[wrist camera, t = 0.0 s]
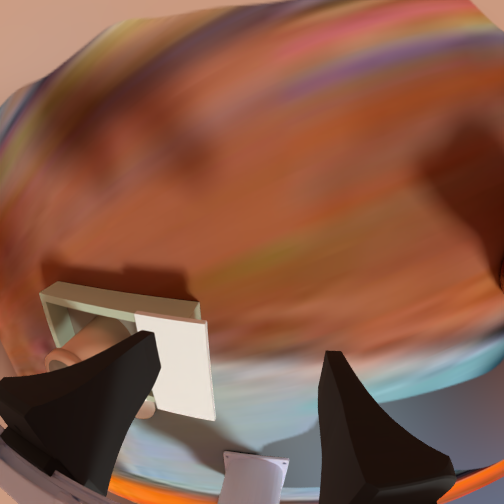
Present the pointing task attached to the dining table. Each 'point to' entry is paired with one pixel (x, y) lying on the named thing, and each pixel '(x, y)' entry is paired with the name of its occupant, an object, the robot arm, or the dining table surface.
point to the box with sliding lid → (149, 319)
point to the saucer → (146, 410)
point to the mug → (502, 276)
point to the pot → (87, 342)
